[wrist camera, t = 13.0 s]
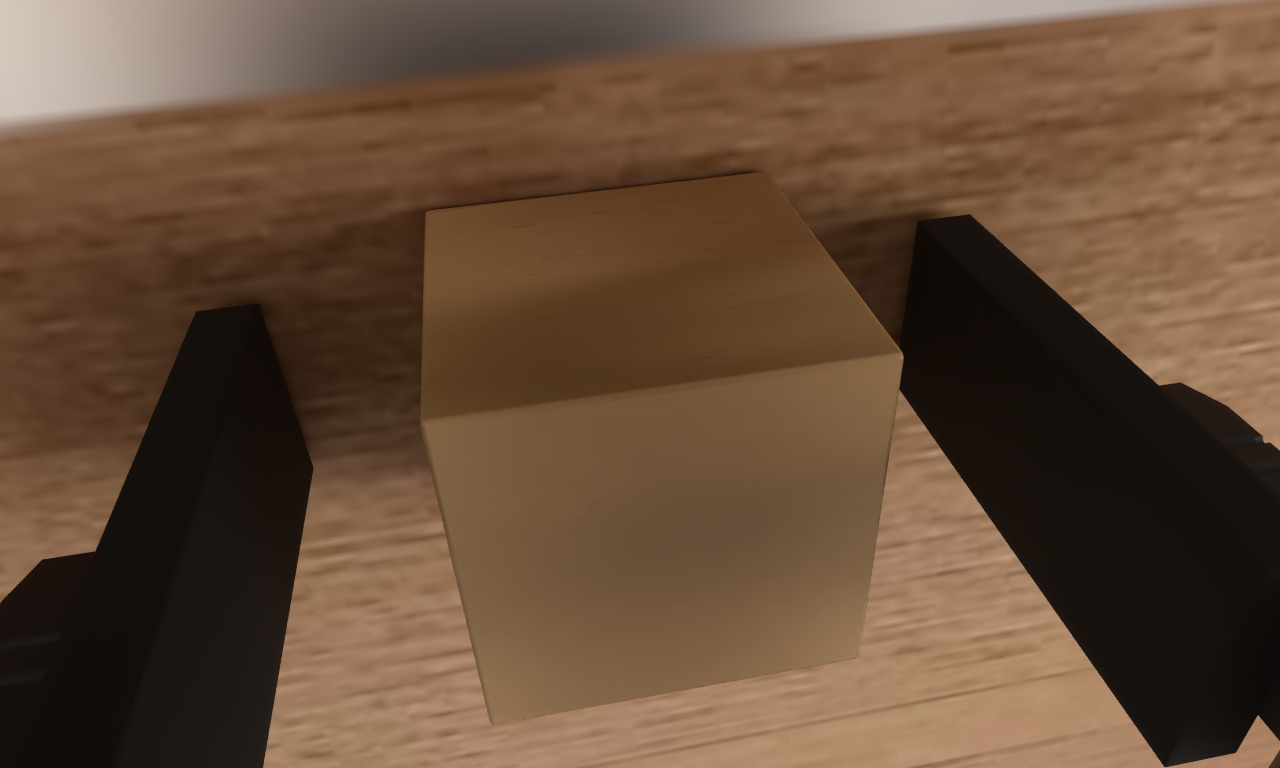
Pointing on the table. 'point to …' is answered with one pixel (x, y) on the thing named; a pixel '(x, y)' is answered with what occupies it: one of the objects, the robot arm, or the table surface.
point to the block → (651, 439)
